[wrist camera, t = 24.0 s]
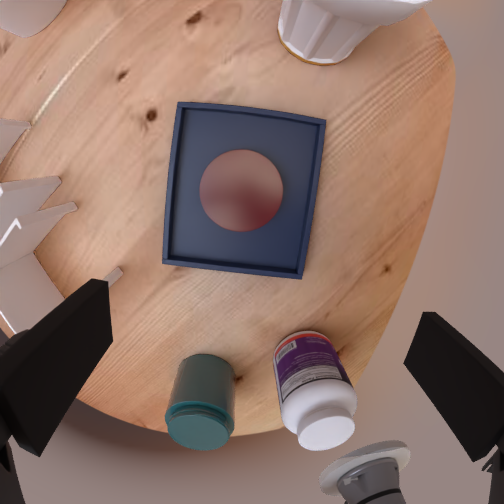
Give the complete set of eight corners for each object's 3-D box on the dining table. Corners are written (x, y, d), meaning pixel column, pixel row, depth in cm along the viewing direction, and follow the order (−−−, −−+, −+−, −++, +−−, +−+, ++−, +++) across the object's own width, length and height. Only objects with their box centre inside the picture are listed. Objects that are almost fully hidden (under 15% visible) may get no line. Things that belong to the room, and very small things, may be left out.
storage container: (-10, 176, 28) (-62, 184, 18) (29, 121, 27) (-27, 115, 16) (74, 314, 34) (33, 356, 24) (123, 273, 33) (81, 315, 22)
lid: (277, 146, 29) (279, 145, 27) (284, 223, 31) (287, 227, 30) (197, 156, 29) (194, 155, 27) (207, 232, 31) (205, 236, 30)
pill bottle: (325, 375, 38) (353, 453, 24) (268, 375, 37) (279, 460, 24) (337, 327, 36) (379, 402, 22) (276, 325, 35) (293, 410, 21)
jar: (232, 399, 39) (231, 456, 28) (178, 392, 38) (164, 447, 28) (238, 357, 36) (237, 416, 26) (177, 350, 36) (159, 405, 26)
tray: (298, 273, 33) (301, 279, 32) (166, 258, 33) (161, 263, 31) (321, 122, 29) (326, 119, 27) (181, 105, 28) (177, 101, 26)
